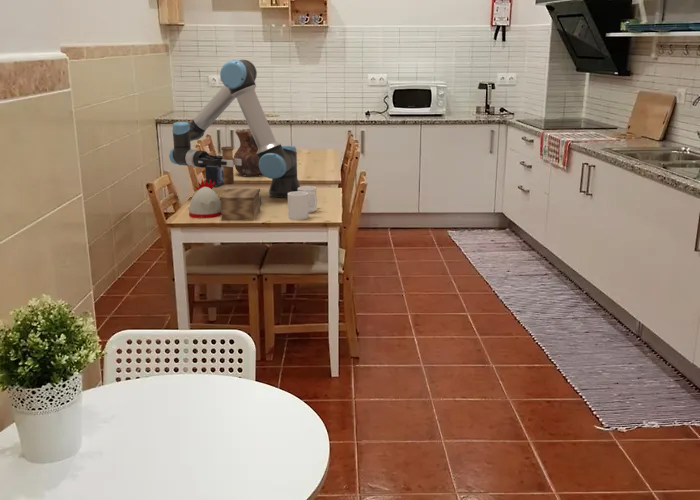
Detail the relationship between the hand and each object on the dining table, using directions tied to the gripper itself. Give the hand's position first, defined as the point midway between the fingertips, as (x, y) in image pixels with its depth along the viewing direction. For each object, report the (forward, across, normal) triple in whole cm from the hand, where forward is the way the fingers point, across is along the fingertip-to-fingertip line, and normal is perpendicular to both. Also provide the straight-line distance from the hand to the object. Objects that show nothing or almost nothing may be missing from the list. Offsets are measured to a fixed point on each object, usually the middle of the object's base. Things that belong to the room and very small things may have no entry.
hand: (236, 163), depth 302 cm
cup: (+39, +5, -18) cm, 43 cm away
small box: (-42, -30, -19) cm, 55 cm away
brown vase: (-46, -64, -19) cm, 81 cm away
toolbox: (+10, +8, -18) cm, 23 cm away
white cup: (+34, -5, -18) cm, 39 cm away
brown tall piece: (-5, 0, -10) cm, 11 cm away
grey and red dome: (+1, +21, -19) cm, 28 cm away
